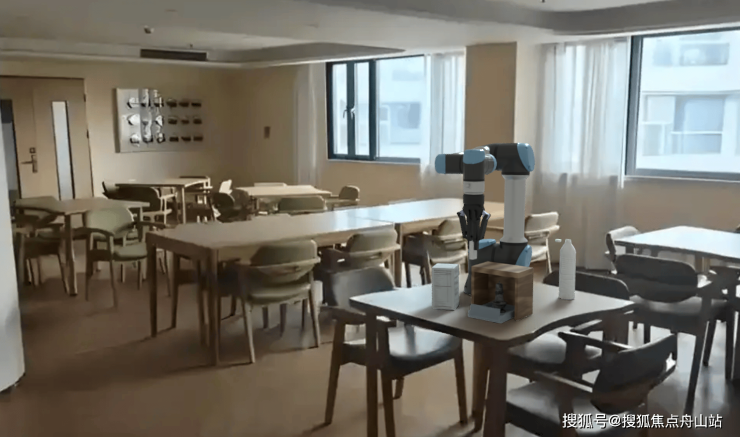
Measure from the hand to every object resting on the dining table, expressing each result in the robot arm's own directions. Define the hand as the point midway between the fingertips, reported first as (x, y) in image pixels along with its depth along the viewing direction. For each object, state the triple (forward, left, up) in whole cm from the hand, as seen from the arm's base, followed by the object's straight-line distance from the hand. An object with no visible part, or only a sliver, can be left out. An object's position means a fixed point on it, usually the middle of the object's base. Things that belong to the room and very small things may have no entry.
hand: (473, 258), depth 235 cm
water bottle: (+9, +57, -25) cm, 63 cm away
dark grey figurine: (0, +19, -24) cm, 30 cm away
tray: (0, +17, -24) cm, 29 cm away
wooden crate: (0, +21, -24) cm, 32 cm away
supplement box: (-22, +15, -25) cm, 36 cm away
